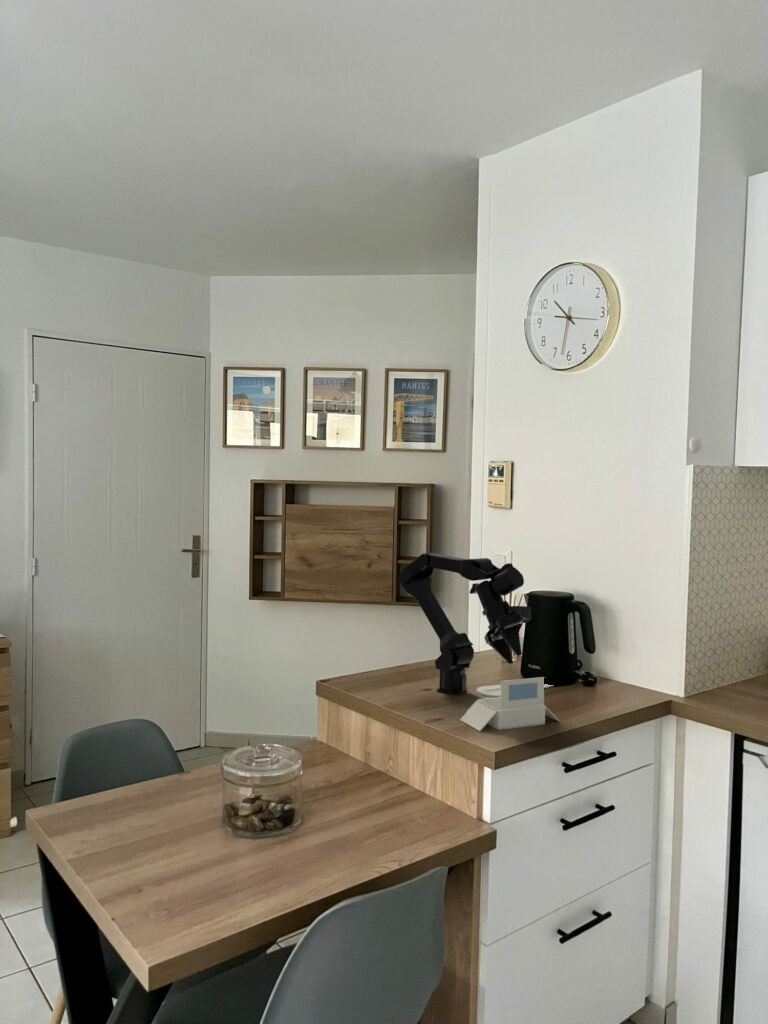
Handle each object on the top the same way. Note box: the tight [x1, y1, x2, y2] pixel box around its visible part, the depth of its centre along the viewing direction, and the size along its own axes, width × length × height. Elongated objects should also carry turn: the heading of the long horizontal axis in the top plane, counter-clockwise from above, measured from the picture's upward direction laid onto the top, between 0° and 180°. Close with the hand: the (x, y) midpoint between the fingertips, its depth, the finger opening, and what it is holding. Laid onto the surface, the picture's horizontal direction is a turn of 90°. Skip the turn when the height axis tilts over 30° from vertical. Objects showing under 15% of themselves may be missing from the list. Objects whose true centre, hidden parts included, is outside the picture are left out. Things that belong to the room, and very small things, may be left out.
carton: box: [476, 697, 547, 731], centre depth 188 cm, size 10×13×4 cm
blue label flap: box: [500, 676, 545, 709], centre depth 183 cm, size 6×12×1 cm
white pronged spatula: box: [476, 683, 554, 698], centre depth 219 cm, size 28×1×10 cm
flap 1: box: [460, 700, 497, 732], centre depth 184 cm, size 9×6×1 cm
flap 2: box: [545, 706, 560, 722], centre depth 191 cm, size 9×6×1 cm
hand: (515, 659), depth 197 cm, fingers open, 9 cm apart
